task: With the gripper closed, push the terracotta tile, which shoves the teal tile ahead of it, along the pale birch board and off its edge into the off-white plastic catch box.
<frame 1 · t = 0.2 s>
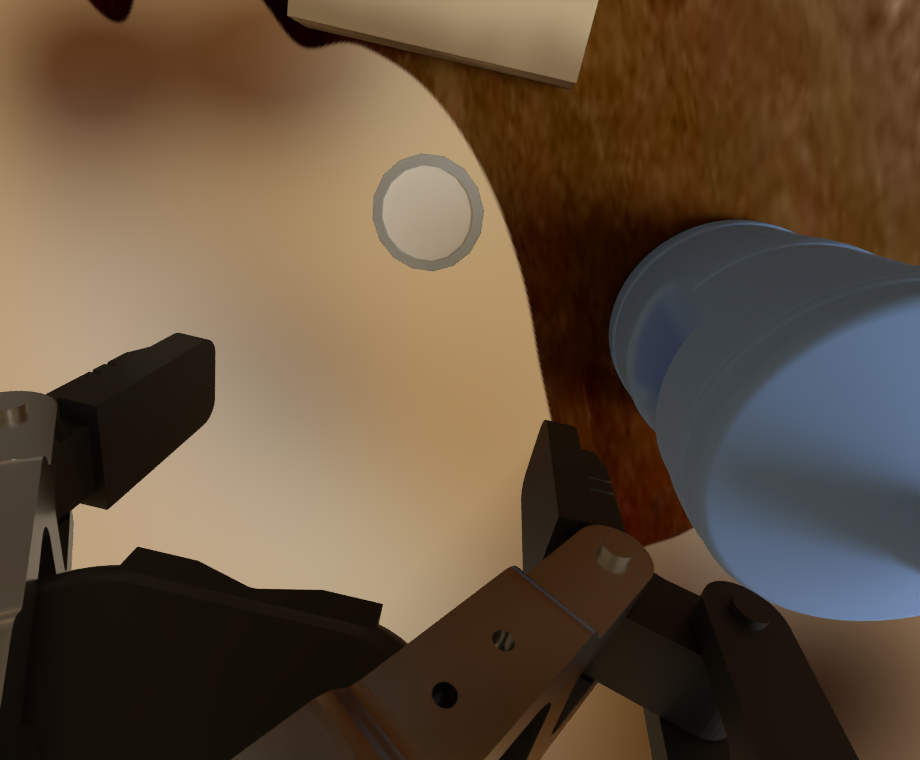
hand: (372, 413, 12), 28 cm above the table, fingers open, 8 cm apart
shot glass: (441, 204, 38), on the table
water jug: (710, 323, 39), on the table
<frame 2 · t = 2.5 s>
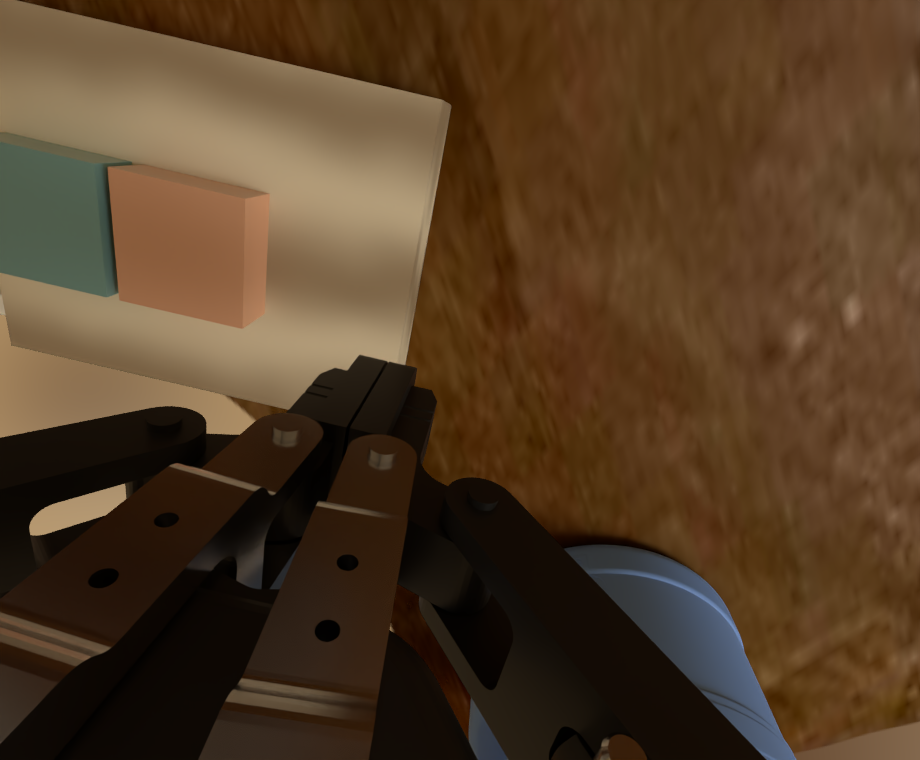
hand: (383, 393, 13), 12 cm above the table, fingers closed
teal tile: (76, 212, 21), point 3 cm above the table, touching birch board
birch board: (232, 228, 24), on the table
terracotta tile: (207, 242, 21), point 3 cm above the table, touching birch board
water jug: (596, 628, 33), on the table
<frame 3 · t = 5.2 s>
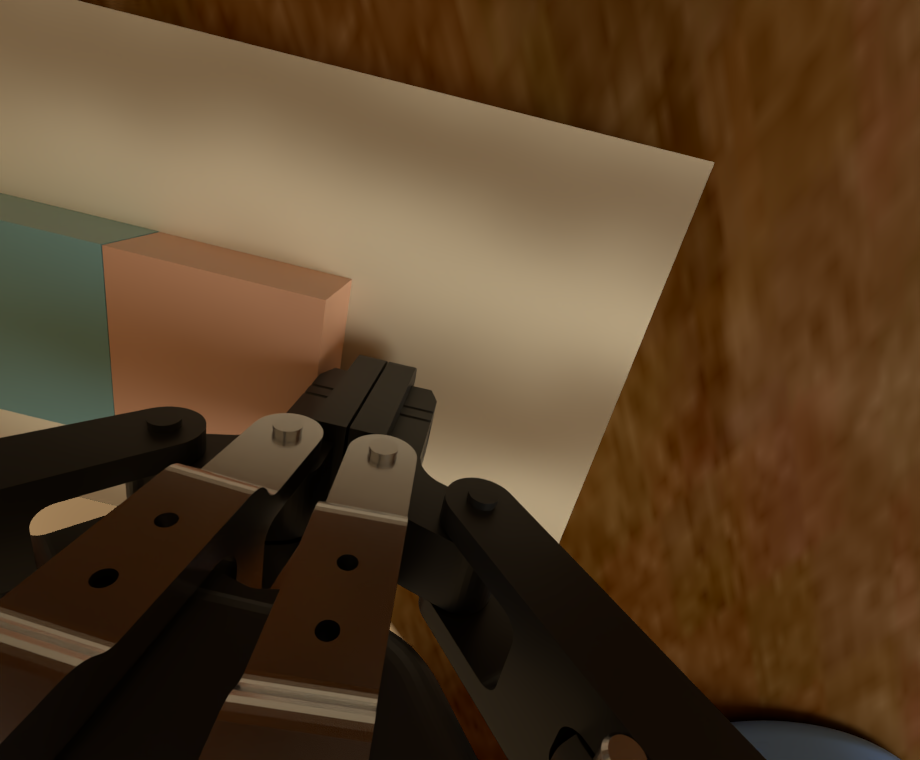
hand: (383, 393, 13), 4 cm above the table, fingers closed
teal tile: (72, 301, 14), point 3 cm above the table, touching birch board
birch board: (323, 319, 17), on the table
terracotta tile: (251, 345, 14), point 3 cm above the table, touching birch board, gripper
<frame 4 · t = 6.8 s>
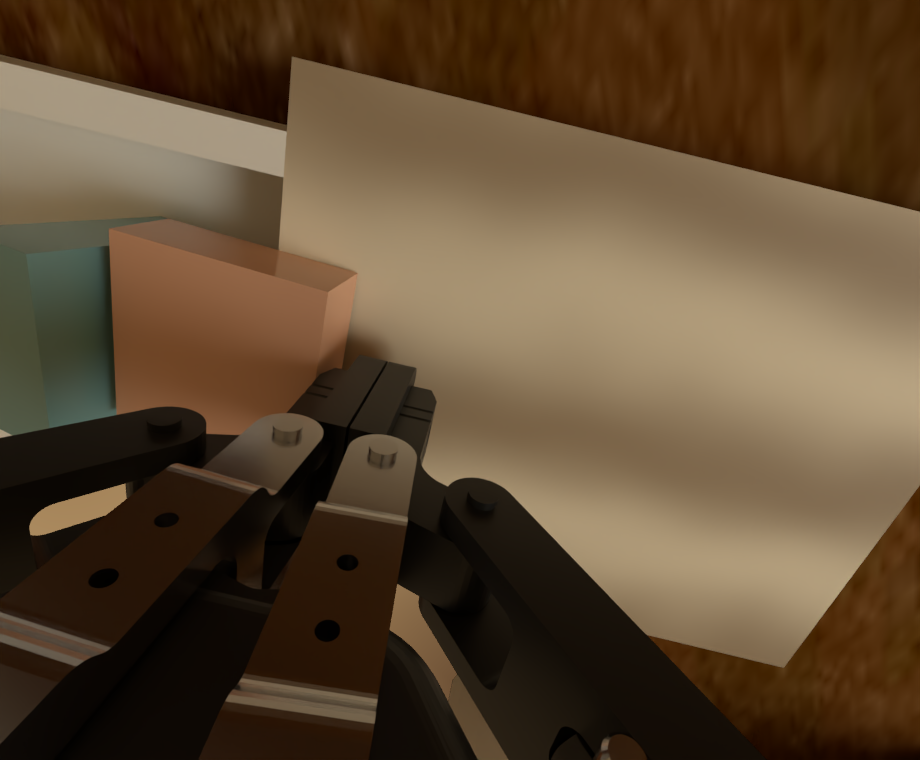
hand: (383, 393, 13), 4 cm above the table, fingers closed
teal tile: (141, 335, 14), point 4 cm above the table, tilted 105°, touching catch box
catch box: (131, 273, 17), on the table
birch board: (577, 382, 17), on the table
terracotta tile: (255, 336, 14), point 3 cm above the table, touching birch board, gripper
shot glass: (510, 693, 24), on the table
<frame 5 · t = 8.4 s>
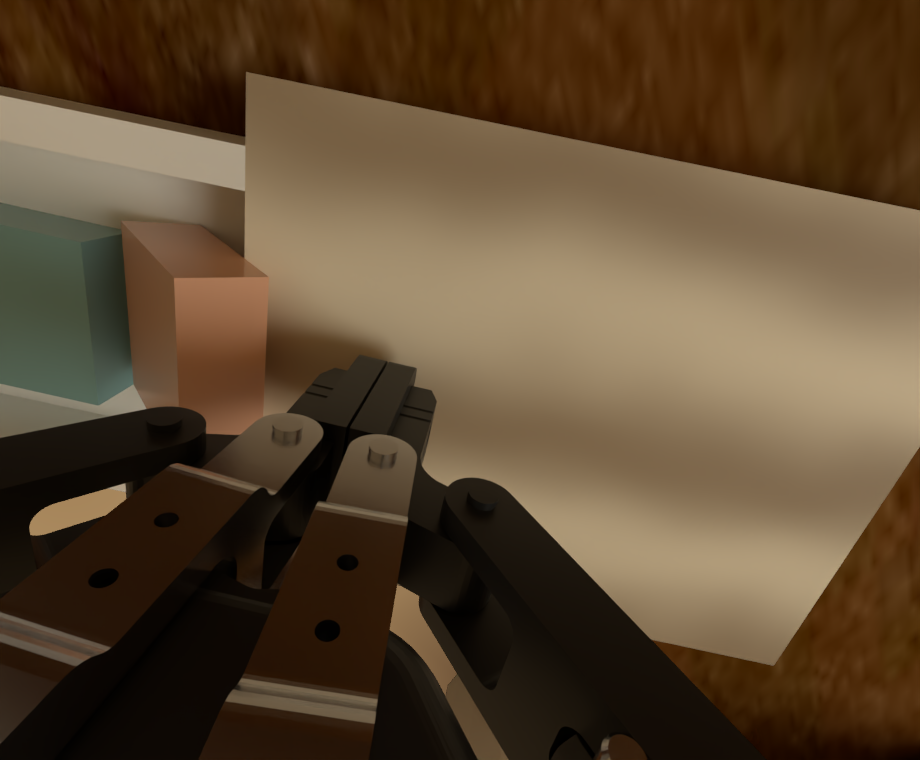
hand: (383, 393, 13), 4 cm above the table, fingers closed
teal tile: (4, 310, 15), point 3 cm above the table, tilted 180°, touching catch box
catch box: (109, 290, 17), on the table
birch board: (554, 383, 17), on the table
terracotta tile: (229, 335, 15), point 2 cm above the table, tilted 44°, touching birch board, catch box
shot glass: (506, 697, 24), on the table
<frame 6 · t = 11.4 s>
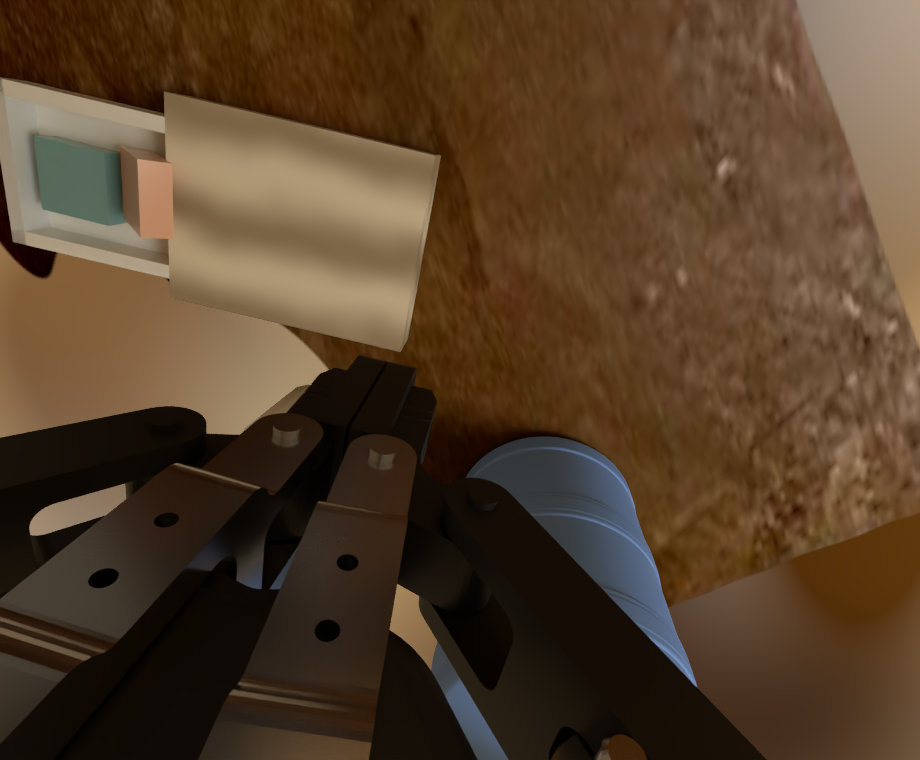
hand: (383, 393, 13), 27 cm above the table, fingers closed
teal tile: (72, 182, 36), point 3 cm above the table, tilted 180°, touching catch box
catch box: (114, 181, 39), on the table
birch board: (307, 226, 39), on the table
terracotta tile: (162, 194, 36), point 2 cm above the table, tilted 44°, touching birch board, catch box
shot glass: (315, 412, 45), on the table
water jug: (542, 503, 47), on the table
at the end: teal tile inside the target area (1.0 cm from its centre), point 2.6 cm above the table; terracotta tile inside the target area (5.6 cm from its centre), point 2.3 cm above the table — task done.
